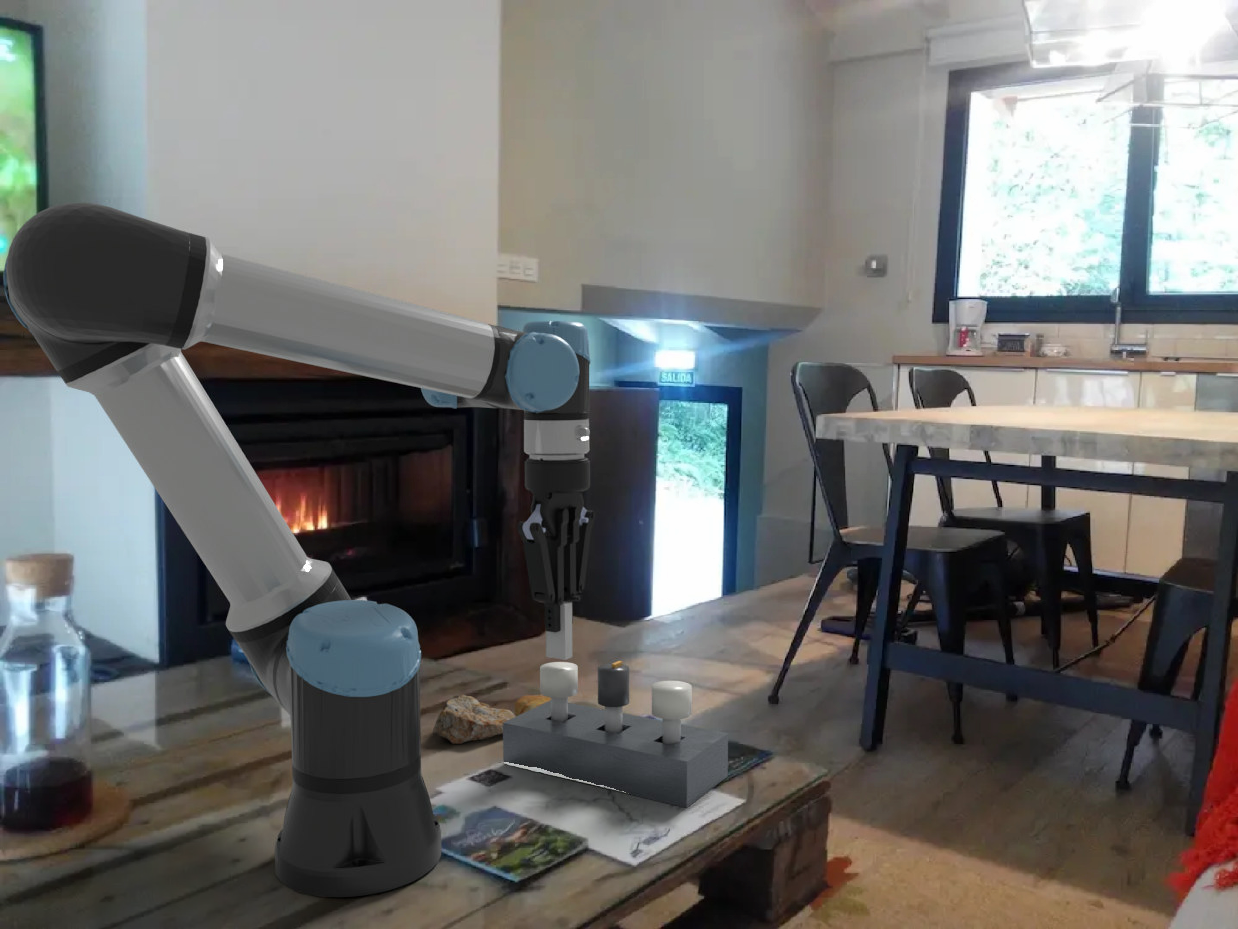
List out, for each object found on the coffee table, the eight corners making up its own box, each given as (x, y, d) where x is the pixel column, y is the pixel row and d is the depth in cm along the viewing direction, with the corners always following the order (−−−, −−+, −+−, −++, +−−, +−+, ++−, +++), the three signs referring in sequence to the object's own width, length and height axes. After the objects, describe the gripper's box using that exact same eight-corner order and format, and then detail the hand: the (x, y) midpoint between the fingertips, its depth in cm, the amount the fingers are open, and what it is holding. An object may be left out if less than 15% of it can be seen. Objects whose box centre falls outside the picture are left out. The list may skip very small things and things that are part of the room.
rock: (431, 749, 128) (511, 734, 128) (424, 701, 129) (503, 686, 129) (448, 742, 137) (523, 729, 136) (441, 697, 138) (515, 683, 137)
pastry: (502, 714, 141) (502, 686, 141) (549, 708, 144) (549, 680, 143) (527, 736, 132) (527, 706, 132) (576, 729, 135) (576, 700, 135)
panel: (727, 776, 119) (728, 733, 118) (686, 808, 110) (687, 761, 110) (552, 738, 131) (552, 699, 131) (503, 764, 122) (502, 722, 122)
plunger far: (564, 738, 121) (563, 674, 120) (533, 731, 123) (532, 669, 123) (585, 727, 125) (584, 665, 124) (554, 721, 127) (554, 660, 126)
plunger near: (679, 763, 113) (680, 694, 113) (644, 755, 116) (644, 688, 115) (698, 750, 117) (698, 684, 116) (663, 743, 119) (663, 678, 119)
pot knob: (619, 748, 118) (618, 670, 117) (591, 742, 120) (591, 666, 119) (635, 738, 121) (635, 662, 120) (608, 733, 123) (608, 658, 122)
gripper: (551, 462, 114) (554, 675, 116) (614, 453, 125) (615, 648, 127) (496, 459, 118) (499, 666, 120) (562, 451, 129) (563, 640, 131)
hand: (559, 656), depth 123 cm, fingers closed
